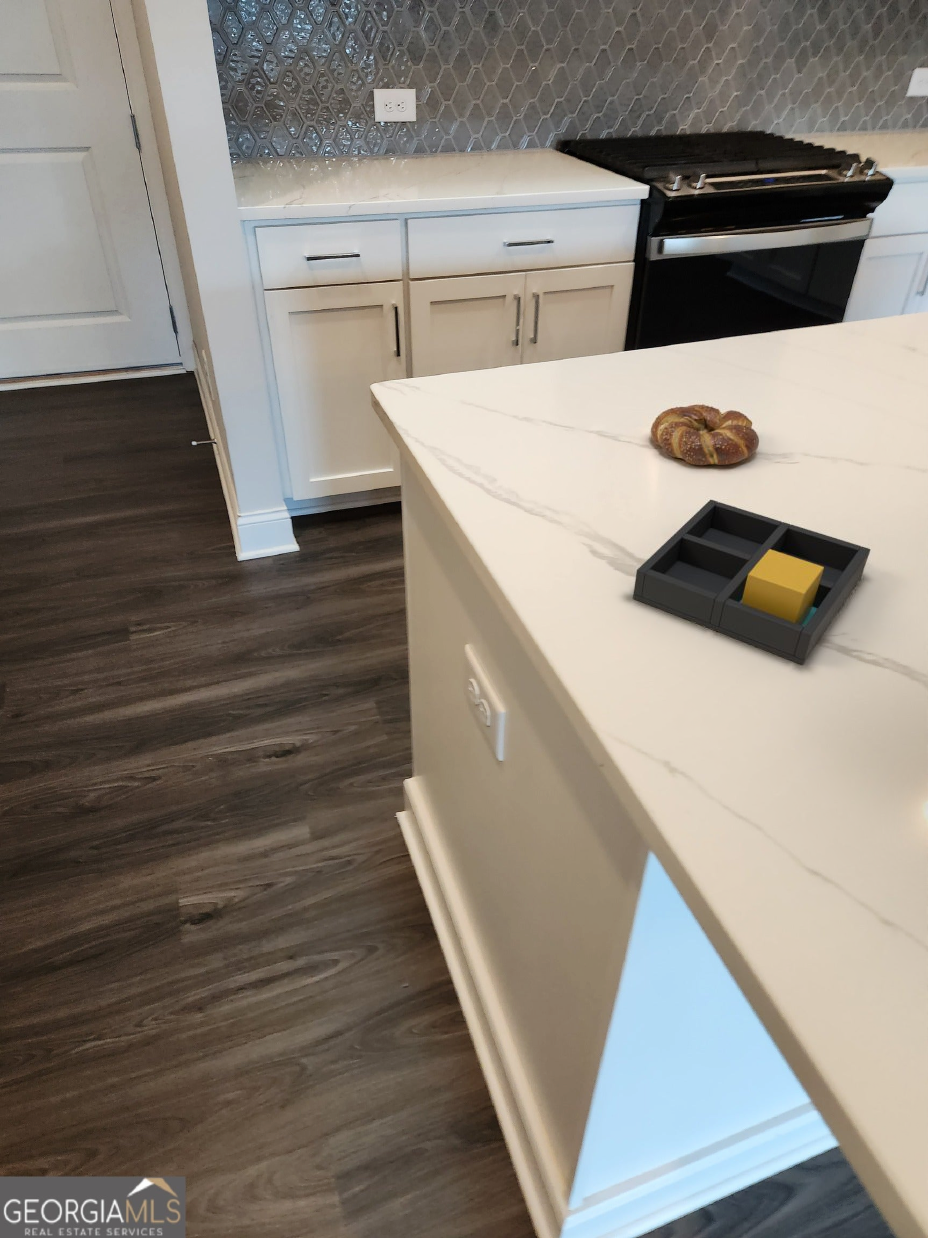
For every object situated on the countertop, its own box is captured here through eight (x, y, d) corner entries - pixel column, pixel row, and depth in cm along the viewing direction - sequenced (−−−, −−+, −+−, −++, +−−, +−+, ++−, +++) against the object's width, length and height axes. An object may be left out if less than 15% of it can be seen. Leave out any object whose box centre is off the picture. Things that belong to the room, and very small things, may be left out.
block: (810, 611, 68) (824, 566, 66) (791, 639, 66) (804, 593, 63) (758, 592, 71) (769, 548, 68) (737, 618, 68) (747, 573, 65)
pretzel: (633, 454, 93) (637, 423, 91) (668, 418, 100) (672, 389, 98) (739, 479, 88) (746, 447, 85) (767, 440, 95) (774, 410, 93)
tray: (861, 577, 73) (870, 548, 71) (802, 665, 64) (811, 635, 62) (705, 525, 81) (710, 498, 79) (632, 598, 71) (636, 569, 70)
